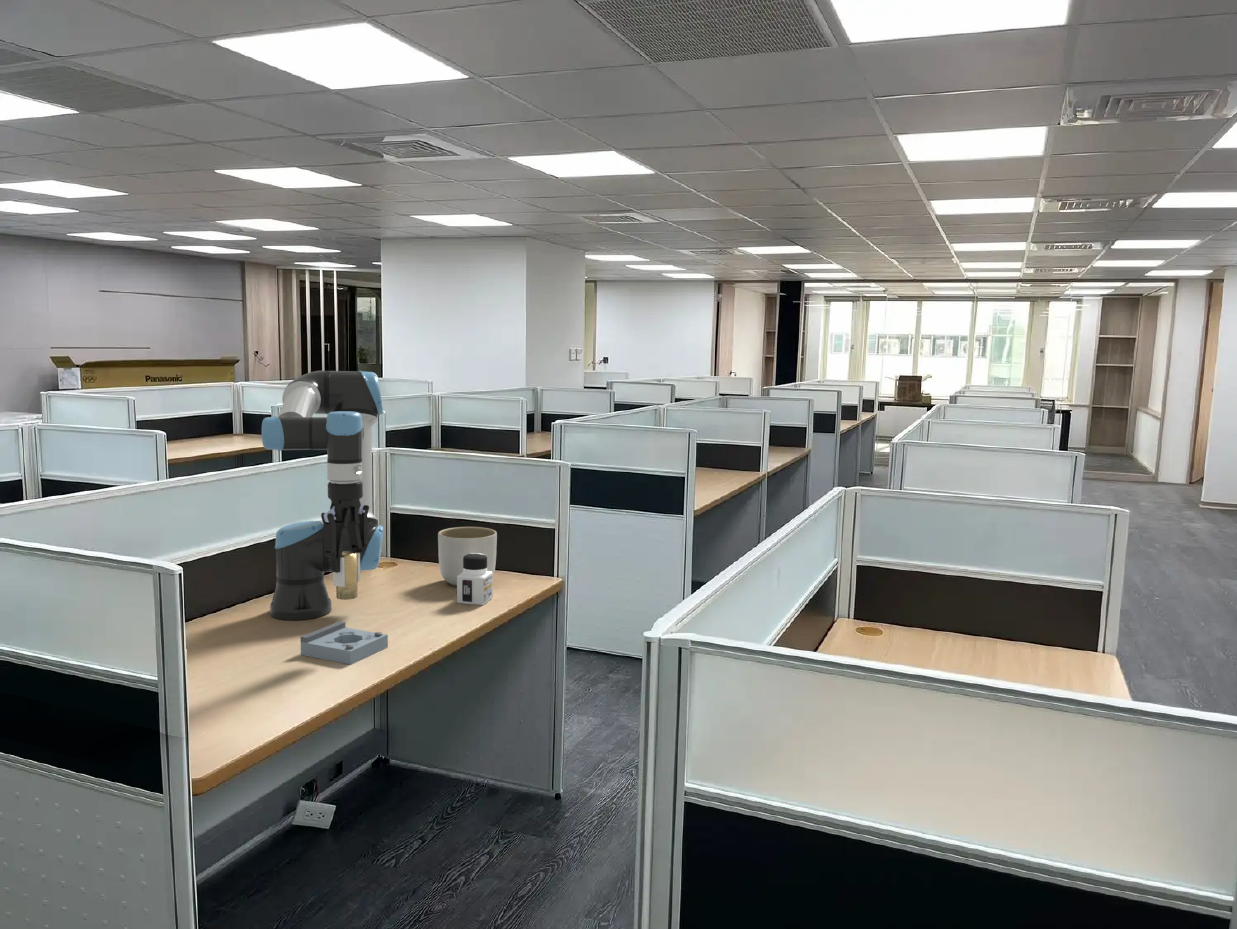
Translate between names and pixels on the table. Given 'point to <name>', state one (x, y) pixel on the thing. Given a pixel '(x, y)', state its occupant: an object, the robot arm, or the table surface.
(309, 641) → the jig
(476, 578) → the container
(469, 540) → the planter
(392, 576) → the table surface
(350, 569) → the brass cylinder
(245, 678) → the table surface
